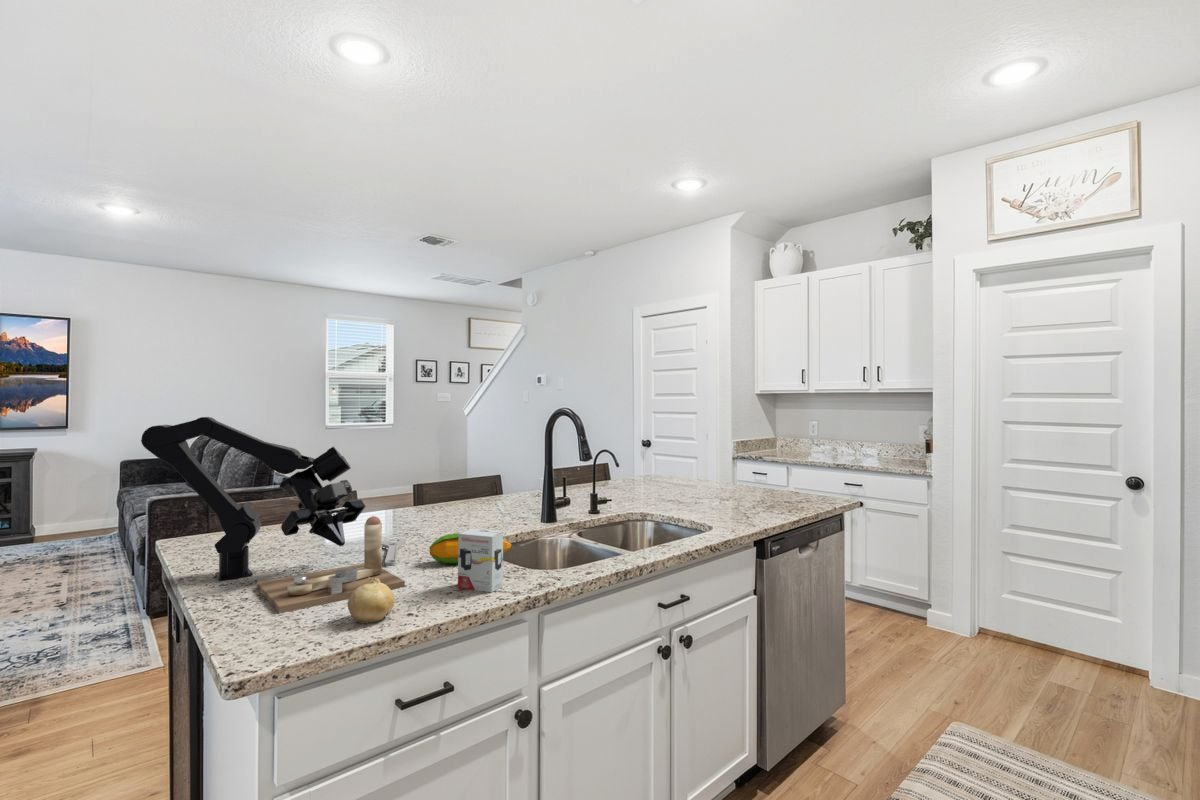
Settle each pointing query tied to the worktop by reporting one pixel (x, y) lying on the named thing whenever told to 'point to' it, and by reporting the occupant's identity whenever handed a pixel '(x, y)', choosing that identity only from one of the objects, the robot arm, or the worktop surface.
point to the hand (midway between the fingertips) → (342, 544)
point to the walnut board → (283, 602)
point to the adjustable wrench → (392, 551)
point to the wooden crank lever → (370, 568)
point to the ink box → (480, 560)
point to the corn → (451, 549)
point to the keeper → (335, 579)
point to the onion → (371, 601)
